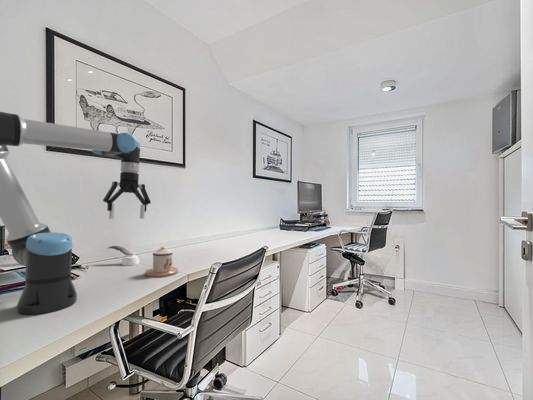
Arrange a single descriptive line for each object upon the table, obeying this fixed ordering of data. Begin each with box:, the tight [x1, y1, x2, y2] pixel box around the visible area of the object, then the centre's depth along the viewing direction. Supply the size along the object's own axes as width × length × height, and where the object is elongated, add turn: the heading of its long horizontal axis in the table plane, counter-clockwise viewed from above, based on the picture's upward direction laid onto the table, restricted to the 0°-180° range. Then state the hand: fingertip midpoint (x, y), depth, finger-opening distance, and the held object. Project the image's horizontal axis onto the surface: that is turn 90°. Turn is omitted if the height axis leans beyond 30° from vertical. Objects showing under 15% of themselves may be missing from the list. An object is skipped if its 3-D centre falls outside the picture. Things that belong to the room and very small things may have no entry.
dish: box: [144, 266, 179, 278], centre depth 129 cm, size 15×15×1 cm
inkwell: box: [106, 245, 140, 267], centre depth 147 cm, size 9×18×10 cm, turn 92°
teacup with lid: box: [152, 246, 174, 273], centre depth 130 cm, size 12×9×12 cm
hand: (127, 218), depth 121 cm, fingers open, 13 cm apart
